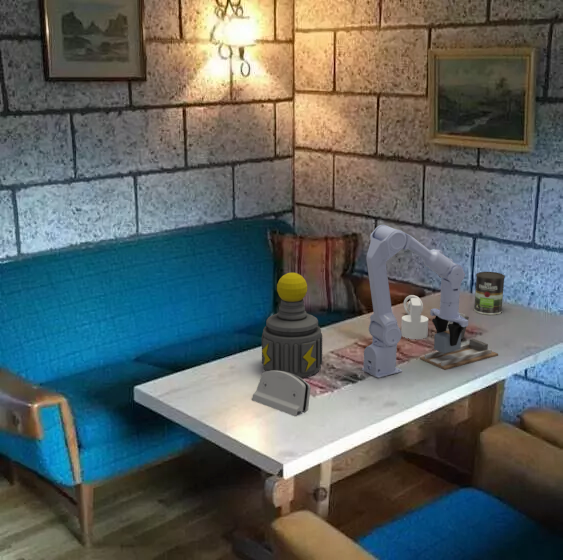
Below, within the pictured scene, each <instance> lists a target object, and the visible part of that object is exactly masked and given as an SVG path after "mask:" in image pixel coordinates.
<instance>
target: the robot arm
mask: <svg viewBox="0 0 563 560" xmlns="http://www.w3.org/2000/svg"><path fill="white" fill-rule="evenodd" d="M369 239H370V243H369V246H368V249H367V253H366V258H365V259H366V266H367V272H368V274H367V275H368V280H369V288H370V294H371V295H370V296H371V302H372V303H371V304H372V309H373V310H372V311H373V313H372V314H371V315H370V316H369V320H370V323H369V325H368V331H369V334H370V336H371V337H372V343H371V344H370V345H367V346H366V347H365V348H364V350H363V367H362V368H361V370H362V371H363V372H365V373H367V374H369V375H371V376H373V377H375V378H378V379H380V378H383V377H386V376H391V375H394V374H398V373H402V372H403V370H402V369H400V368H399V367H397V350H398V349H397V346H398V344H399V342H400V341H401V339H402V337H403V336H402V333H401V327H399V325H398V321H397V317H395V315H394V313H393V309H392V300H391V293H390V285H389V279H388V270H387V268H388V267H387V262H388V261H389V260H390V259H391V258H393V257H394V256H395V255H396V254H398V253H399V252H400V251H402V250H409V251H410V252H412V253H413V254H415V255H417V256H418V257H419V258H421V259H422V260H423V265H424V266H425V267H426V268H429V270H430V271H432V272H434V273H435V274H436V275H438V278H441V281H440V301H439V309H438V308H435V307H434V308H431V309H430V312H429V313H430V316H432V317H433V316H434V318H433V319H432V321H431V322H432V324H433V325H434V328H435V330H436V334H437V333H441V332H444V331H446V329H447V325H448V322H449V321H450V322H453V324H449V325H448V328H449V333H450V345H451V346H454V345H457V342H458V339H459V336H460V334H461V332H462V330H463V329H464V327H466V328H467V327H468V326H469V319H468V320H467V319H465V318H463V317H462V316H460V313H461V312H460V297H461V287H462V282H463V280H464V279H465V276H466V273H465V272H464V268H463V267H462V265H460V264H457V263H455V262H454V259H452V258H450V257H447V256H446V255H444V254H443V253H444V251H442V250H441V249H434V248H433V249H429V248H428V247H426V246H425V245H424V244H422V243H421V242H420V241H418V240H417V239H416V238H415V237H413V236H412V235H411V234H408V233H406V232H404V231H403V230H401V229H397V228H393V227H392V226H389V225H387V224H380V225H378V226H376V227H375V229H373V231H372V232H371V233H370V237H369Z"/></svg>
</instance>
